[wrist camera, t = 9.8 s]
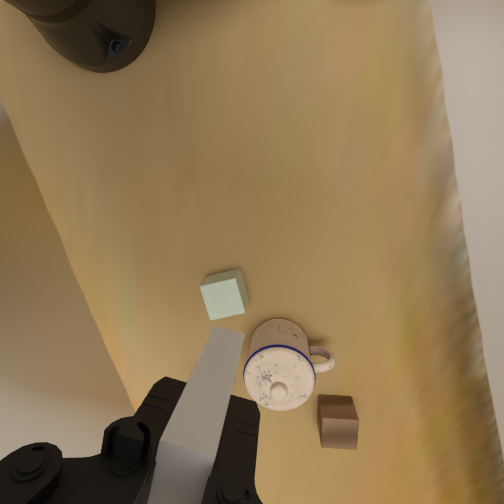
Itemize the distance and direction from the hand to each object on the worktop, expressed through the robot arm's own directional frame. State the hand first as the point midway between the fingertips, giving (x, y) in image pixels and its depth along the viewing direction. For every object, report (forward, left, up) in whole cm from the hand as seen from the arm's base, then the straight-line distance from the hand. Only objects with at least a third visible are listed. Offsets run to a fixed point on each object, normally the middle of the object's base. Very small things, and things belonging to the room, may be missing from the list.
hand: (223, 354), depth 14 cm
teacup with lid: (+14, +8, -30) cm, 34 cm away
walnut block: (+23, +18, -30) cm, 42 cm away
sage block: (+8, -3, -30) cm, 31 cm away
